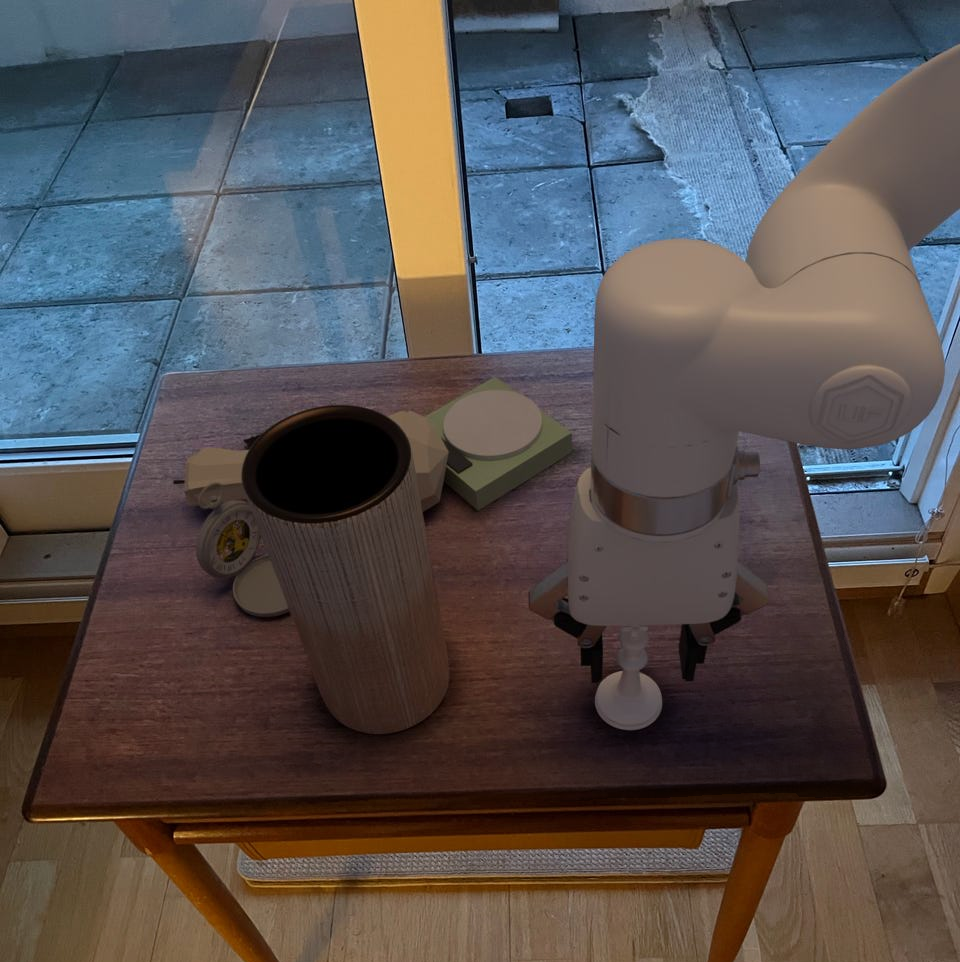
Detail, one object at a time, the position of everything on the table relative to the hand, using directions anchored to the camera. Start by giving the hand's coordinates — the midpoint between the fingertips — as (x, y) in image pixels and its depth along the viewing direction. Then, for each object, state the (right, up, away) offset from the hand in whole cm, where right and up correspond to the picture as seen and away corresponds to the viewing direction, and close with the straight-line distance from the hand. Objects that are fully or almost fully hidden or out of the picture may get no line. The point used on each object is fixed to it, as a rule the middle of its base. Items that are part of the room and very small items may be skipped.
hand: (640, 663), depth 66 cm
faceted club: (-26, +15, +20) cm, 36 cm away
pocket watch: (-29, +6, +14) cm, 33 cm away
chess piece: (0, -3, +4) cm, 5 cm away
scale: (-10, +19, +22) cm, 31 cm away
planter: (-18, -2, +7) cm, 20 cm away
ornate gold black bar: (-30, +21, +25) cm, 44 cm away
